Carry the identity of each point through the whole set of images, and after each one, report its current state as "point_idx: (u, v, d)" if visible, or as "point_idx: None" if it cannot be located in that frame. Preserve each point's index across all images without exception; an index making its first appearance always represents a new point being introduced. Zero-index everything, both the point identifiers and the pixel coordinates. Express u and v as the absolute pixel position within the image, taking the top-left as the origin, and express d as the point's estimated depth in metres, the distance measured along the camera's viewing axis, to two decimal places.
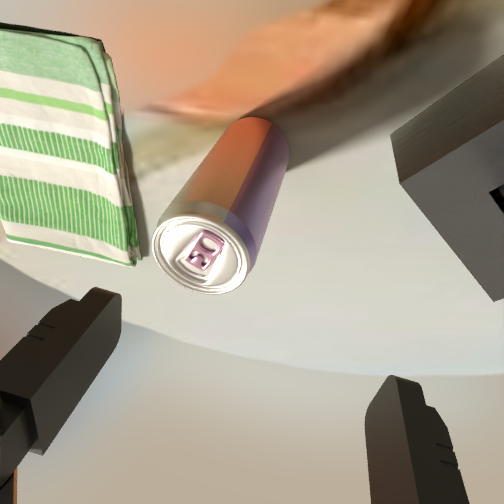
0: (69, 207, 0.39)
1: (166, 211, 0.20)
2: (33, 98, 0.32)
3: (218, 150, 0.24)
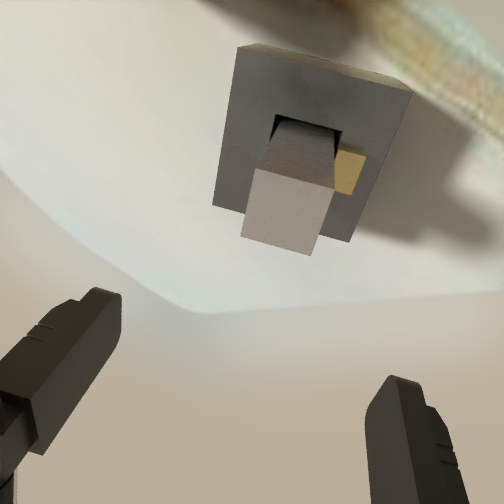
0: None
1: None
2: None
3: None
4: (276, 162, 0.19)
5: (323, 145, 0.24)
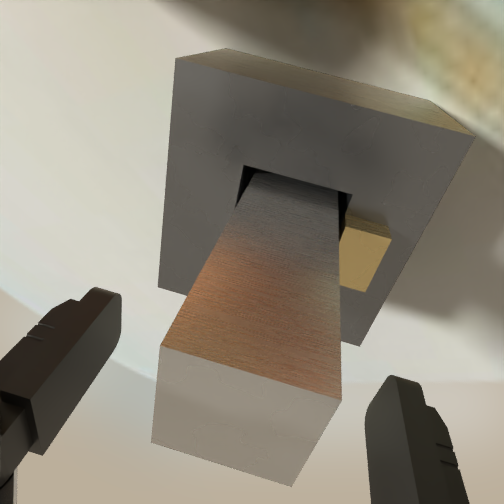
0: None
1: None
2: None
3: None
4: (217, 309, 0.09)
5: (320, 229, 0.14)
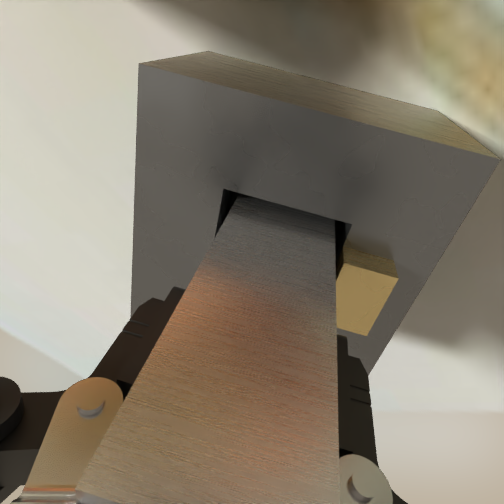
0: None
1: None
2: None
3: None
4: (169, 411, 0.07)
5: (313, 272, 0.11)
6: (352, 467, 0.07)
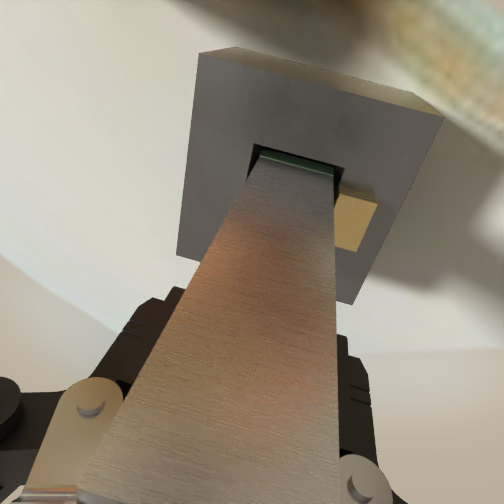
0: None
1: None
2: None
3: None
4: (169, 410, 0.07)
5: (313, 272, 0.11)
6: (352, 467, 0.07)
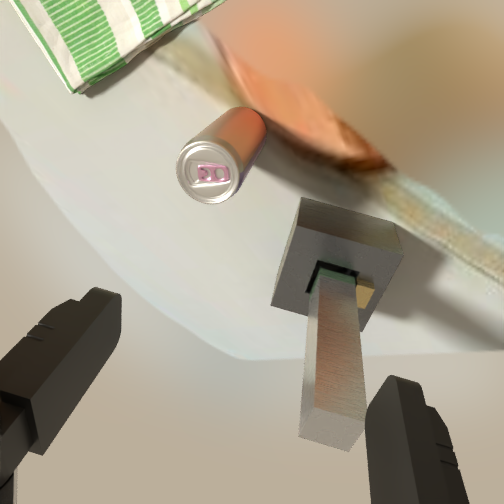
0: (72, 1, 0.39)
1: (216, 137, 0.30)
2: None
3: (244, 124, 0.36)
4: (325, 391, 0.27)
5: (353, 346, 0.32)
6: None
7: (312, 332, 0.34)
